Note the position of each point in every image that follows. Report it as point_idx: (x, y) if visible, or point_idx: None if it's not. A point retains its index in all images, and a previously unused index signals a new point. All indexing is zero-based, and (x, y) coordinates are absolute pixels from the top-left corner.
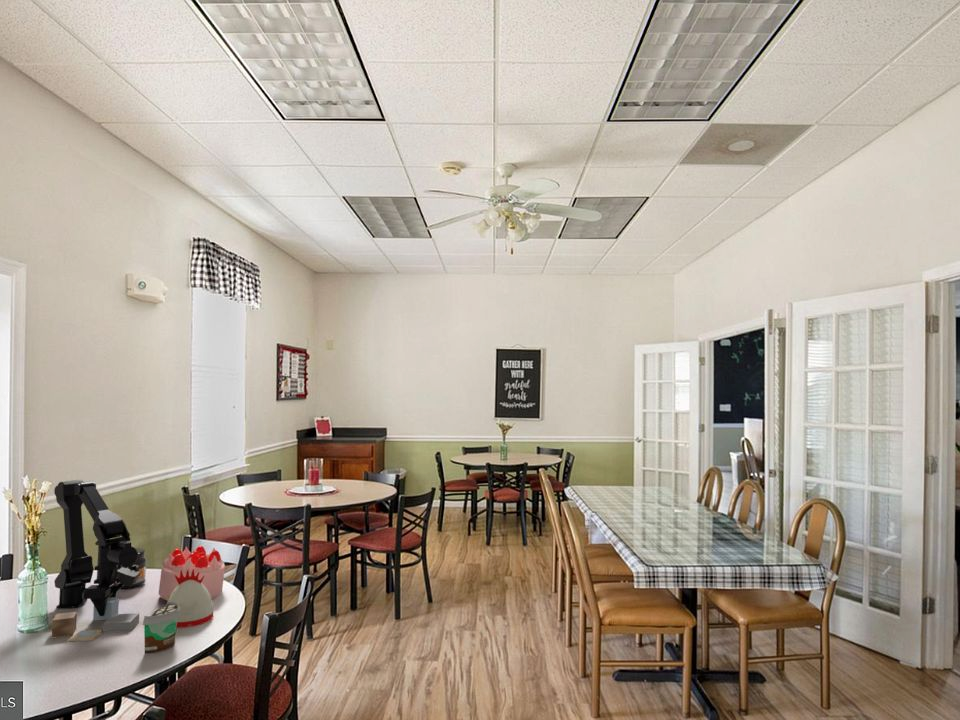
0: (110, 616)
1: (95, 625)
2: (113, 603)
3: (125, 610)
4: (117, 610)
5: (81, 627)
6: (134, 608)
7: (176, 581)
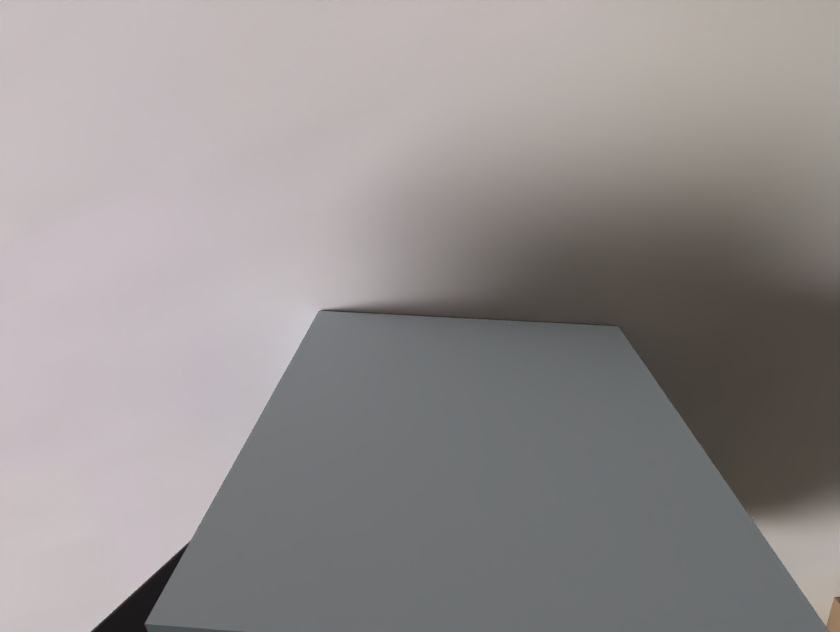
0: (634, 368)
1: (817, 453)
2: (657, 578)
3: (156, 239)
4: (338, 348)
5: (808, 567)
6: (13, 93)
7: None
